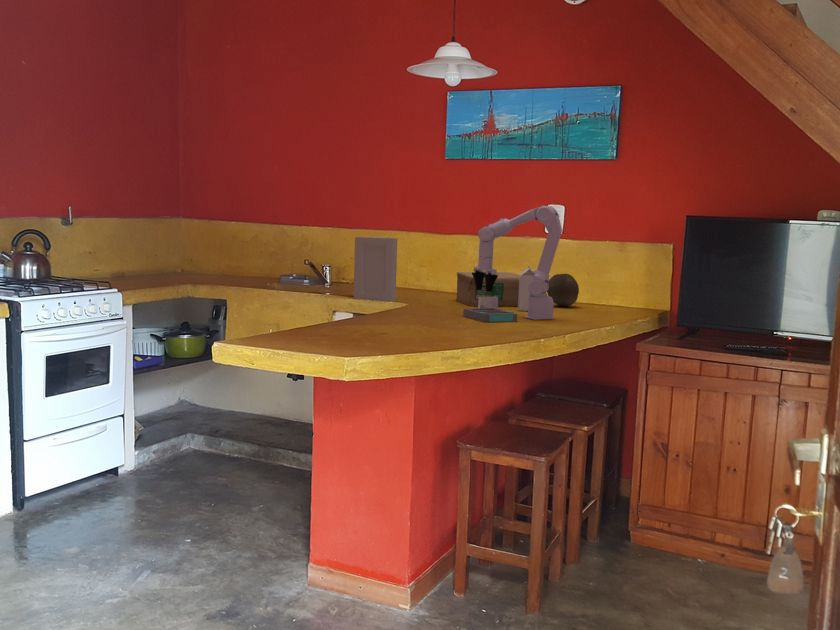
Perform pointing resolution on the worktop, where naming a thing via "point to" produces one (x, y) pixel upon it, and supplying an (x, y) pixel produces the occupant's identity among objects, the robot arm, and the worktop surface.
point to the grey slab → (488, 302)
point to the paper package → (502, 288)
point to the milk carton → (524, 288)
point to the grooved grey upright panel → (375, 268)
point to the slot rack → (490, 315)
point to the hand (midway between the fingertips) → (483, 290)
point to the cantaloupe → (563, 289)
